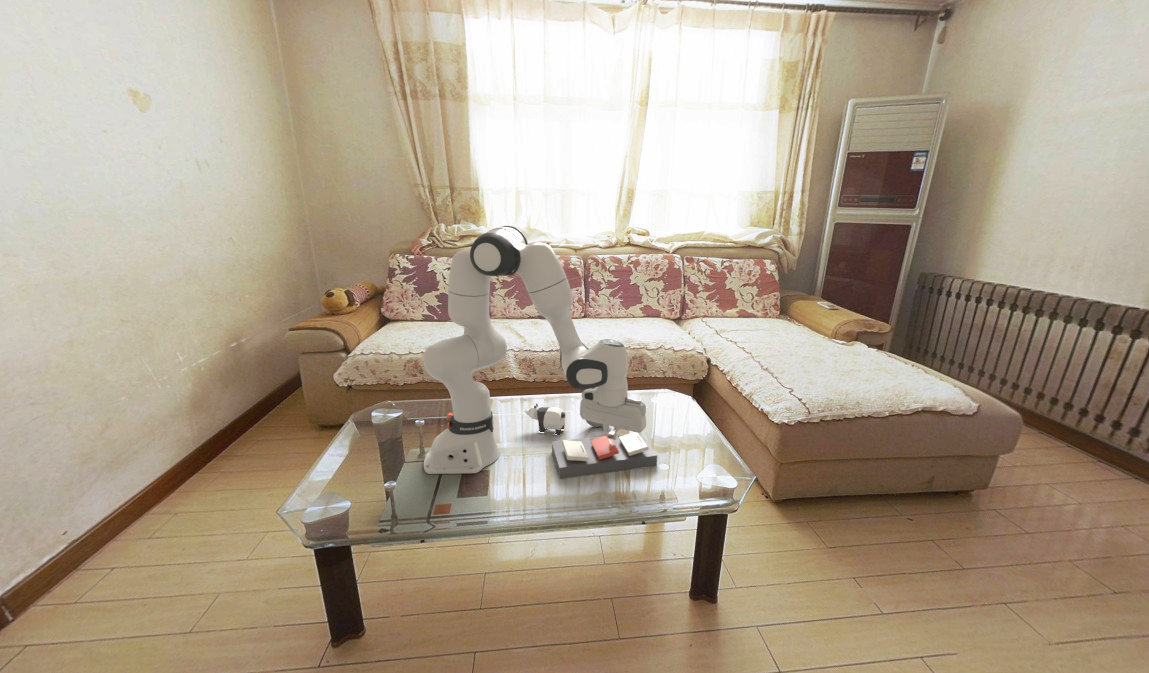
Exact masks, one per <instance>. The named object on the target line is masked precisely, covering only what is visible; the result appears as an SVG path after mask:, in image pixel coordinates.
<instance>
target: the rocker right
mask: <svg viewBox="0 0 1149 673" xmlns="http://www.w3.org/2000/svg"><path fill="white" fill-rule="evenodd" d="M629 433H630V434H627V435H624V436H620V437H619V440H620V442H621V444H622V445H623V447H624V448H625V450H626V452H627V453H628V455H629V456H631V455H634V454H637V453H640V452H643V451H646V450H648V446H647V445H646V443H645V442H644V441H643V439H642V438H641V436H640V435H639V434H638V433H637V432H633V431H632V432H629Z"/></svg>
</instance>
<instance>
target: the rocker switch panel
mask: <svg viewBox="0 0 1149 673" xmlns="http://www.w3.org/2000/svg"><path fill="white" fill-rule="evenodd" d="M630 433H631V432H628V433H627V432H626V433H618V438H617V439H616V440H613V439H612V440H613V442H614V444H615V445H616V447H617V449H618V452H619V454H616V455H613V456H610V457H606V458H603V459H600V460H599V458H598V456H597V454H596V452H595V450H594V448H593V446H592V444H591V440H593V439H596V438H600V437H603V436H604V435H602V436H593V437H584V438H575V439H569V440H570V441H581V442H582V444H583V446H584V448H585V451H586V453H587V455H588V457H589V458H588V461H577V460H567V457H566V454H565V451H564V449H563V446H562V440H557V441H551V453H552V456H553V459H554V464H555V467H556V470H557V475H558V477H559V480H561V479H562V480H564V479H570V478H574V477H575V478H576V477H577V478H578V477H585V476H591V475H593V476H594V475H599V474H606V473H616V472H623V471H630V470H638V469H644V468H653V467H658V454H657V453H656V452H655V450H654V449H653V448H652V447H651V445H650V444H649V443H648V441H647V440H646V439H645V437H644V436H643V435H642V432H641V433H638V434H639V435H640V436H641V438H642V439H643V441H644V442H645V443H646V445H647V446H648V450H646V451H643V452H640V453H637V454H634V455H631V456H629V455H628V453H627V452H626V450H625V448H624V447H623V445H622V444H621V442H620V440H619V437H620V436H624V435H627V434H630Z"/></svg>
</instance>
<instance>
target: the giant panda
mask: <svg viewBox="0 0 1149 673" xmlns="http://www.w3.org/2000/svg"><path fill="white" fill-rule="evenodd" d="M524 412H525V414H526V415H528V417H529V418H530V419H533V420H536V421H537V423H538V431H540V432H544V431H545V432H546V429H545V428H548V429H549V430H555V432H556V433H555V432H554V433H555V434H557V435H560V434H561V435H562V431H561V429H564V430H565V426H566V425H565V424H566V413H565V411H564V410H563V409H562V408H560V407H555V406H553V407H552V406H550V407H547V406H546V407H544V406H541V407H539V404H538V403H537V402H536V403H535V404H533V405H531V407H529V408H528V409H525V411H524ZM548 429H547V430H548ZM557 435H556V436H557ZM561 435H560V436H561Z"/></svg>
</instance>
